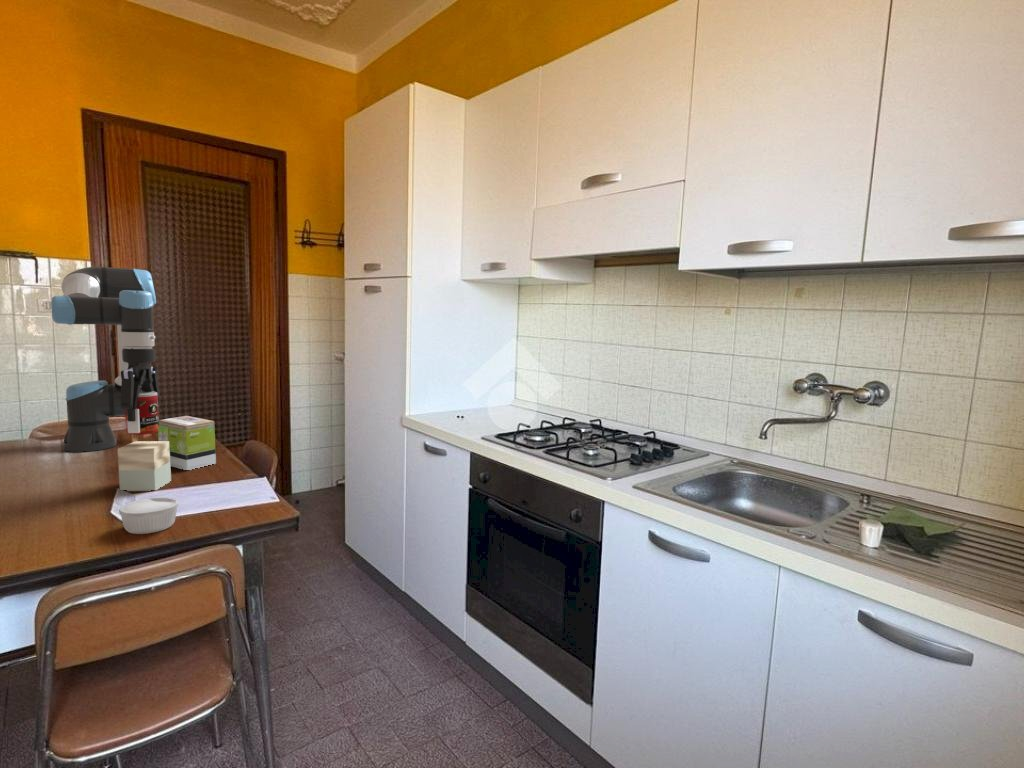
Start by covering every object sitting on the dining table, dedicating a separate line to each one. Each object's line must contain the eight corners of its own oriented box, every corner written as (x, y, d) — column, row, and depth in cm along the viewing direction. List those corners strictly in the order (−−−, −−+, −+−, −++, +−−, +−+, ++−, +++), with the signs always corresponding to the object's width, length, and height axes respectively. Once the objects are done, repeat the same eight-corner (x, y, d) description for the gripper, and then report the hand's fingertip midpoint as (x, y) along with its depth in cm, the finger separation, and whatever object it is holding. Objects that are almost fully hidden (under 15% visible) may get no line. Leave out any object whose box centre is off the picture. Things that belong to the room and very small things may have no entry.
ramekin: (188, 518, 132) (188, 497, 131) (160, 537, 121) (159, 513, 120) (141, 517, 132) (140, 496, 131) (108, 536, 121) (107, 513, 120)
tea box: (158, 464, 177) (156, 419, 175) (188, 458, 186) (187, 414, 184) (186, 471, 170) (184, 424, 168) (217, 464, 179) (215, 419, 177)
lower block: (137, 481, 159) (136, 461, 158) (171, 481, 160) (170, 461, 159) (119, 491, 150) (118, 470, 149) (155, 491, 151) (154, 470, 151)
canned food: (143, 435, 149) (141, 395, 147) (118, 433, 150) (116, 393, 149) (166, 430, 156) (164, 391, 155) (142, 428, 158) (140, 390, 156)
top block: (136, 461, 158) (135, 441, 157) (170, 461, 159) (169, 441, 159) (118, 470, 149) (117, 448, 149) (154, 470, 151) (153, 448, 150)
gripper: (131, 350, 141) (136, 437, 143) (172, 346, 161) (175, 422, 164) (100, 349, 140) (105, 437, 142) (144, 345, 160) (148, 422, 163)
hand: (142, 429), depth 153 cm, fingers closed on canned food, 8 cm apart
